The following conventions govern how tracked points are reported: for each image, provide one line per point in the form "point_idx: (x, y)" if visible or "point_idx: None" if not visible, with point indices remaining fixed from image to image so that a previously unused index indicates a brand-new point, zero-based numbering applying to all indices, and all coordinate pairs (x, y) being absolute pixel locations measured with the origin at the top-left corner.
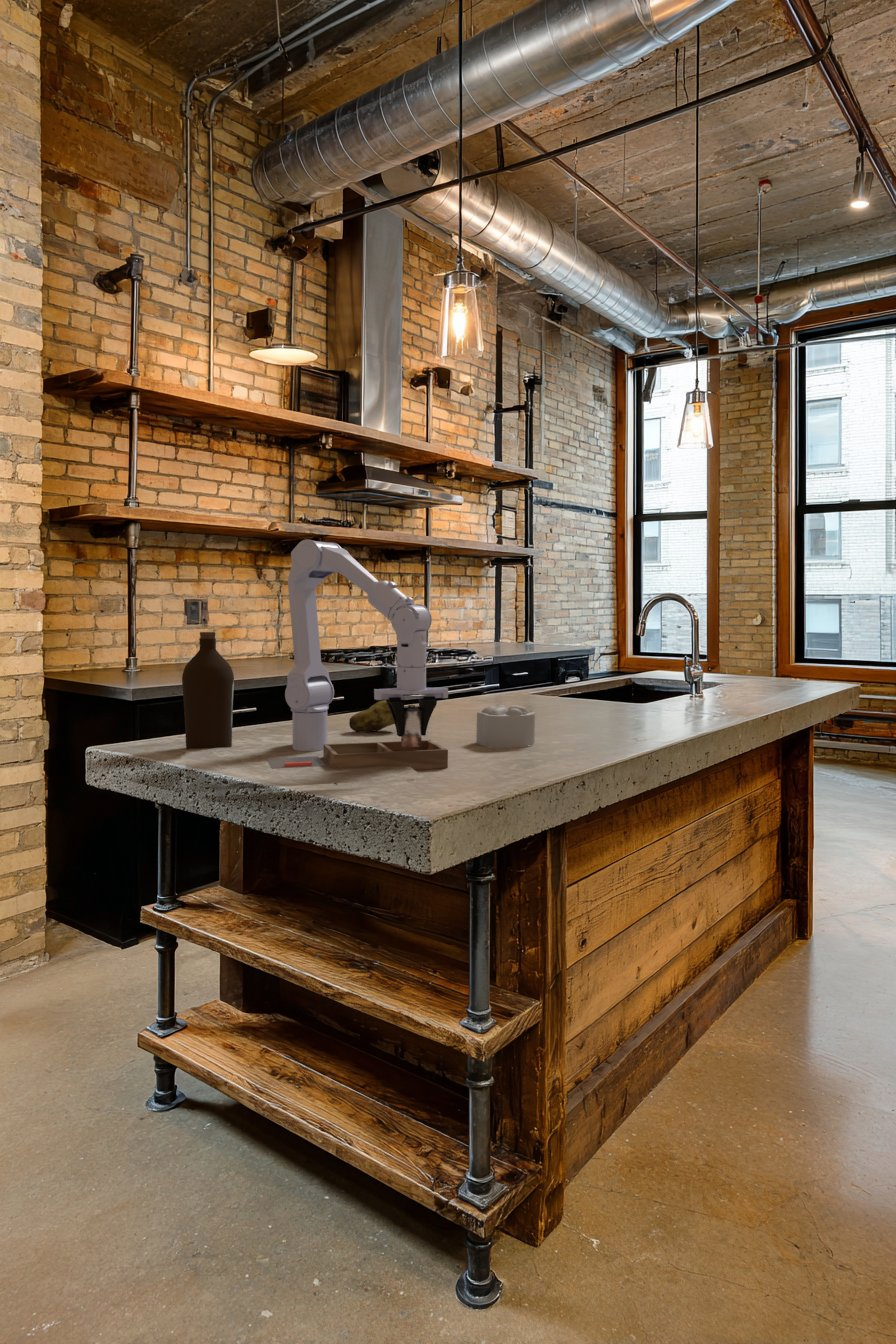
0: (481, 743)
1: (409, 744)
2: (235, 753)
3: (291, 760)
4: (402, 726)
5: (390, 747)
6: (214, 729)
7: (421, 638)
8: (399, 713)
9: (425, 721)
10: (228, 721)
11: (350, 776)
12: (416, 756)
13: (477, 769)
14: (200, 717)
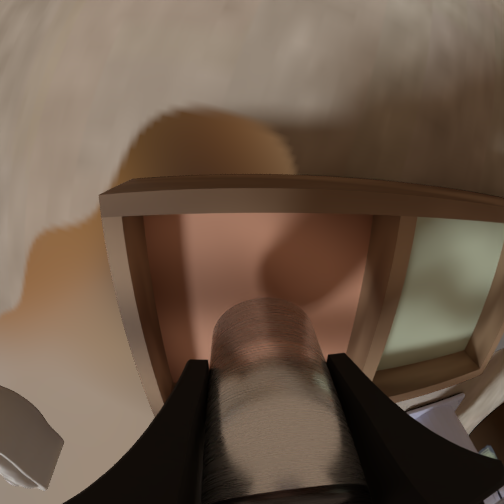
0: (50, 430)
1: (291, 309)
2: (492, 402)
3: None
4: (354, 389)
5: None
6: None
7: None
8: (419, 447)
9: (179, 420)
10: (500, 446)
11: (490, 146)
12: (281, 184)
13: (43, 135)
14: None
